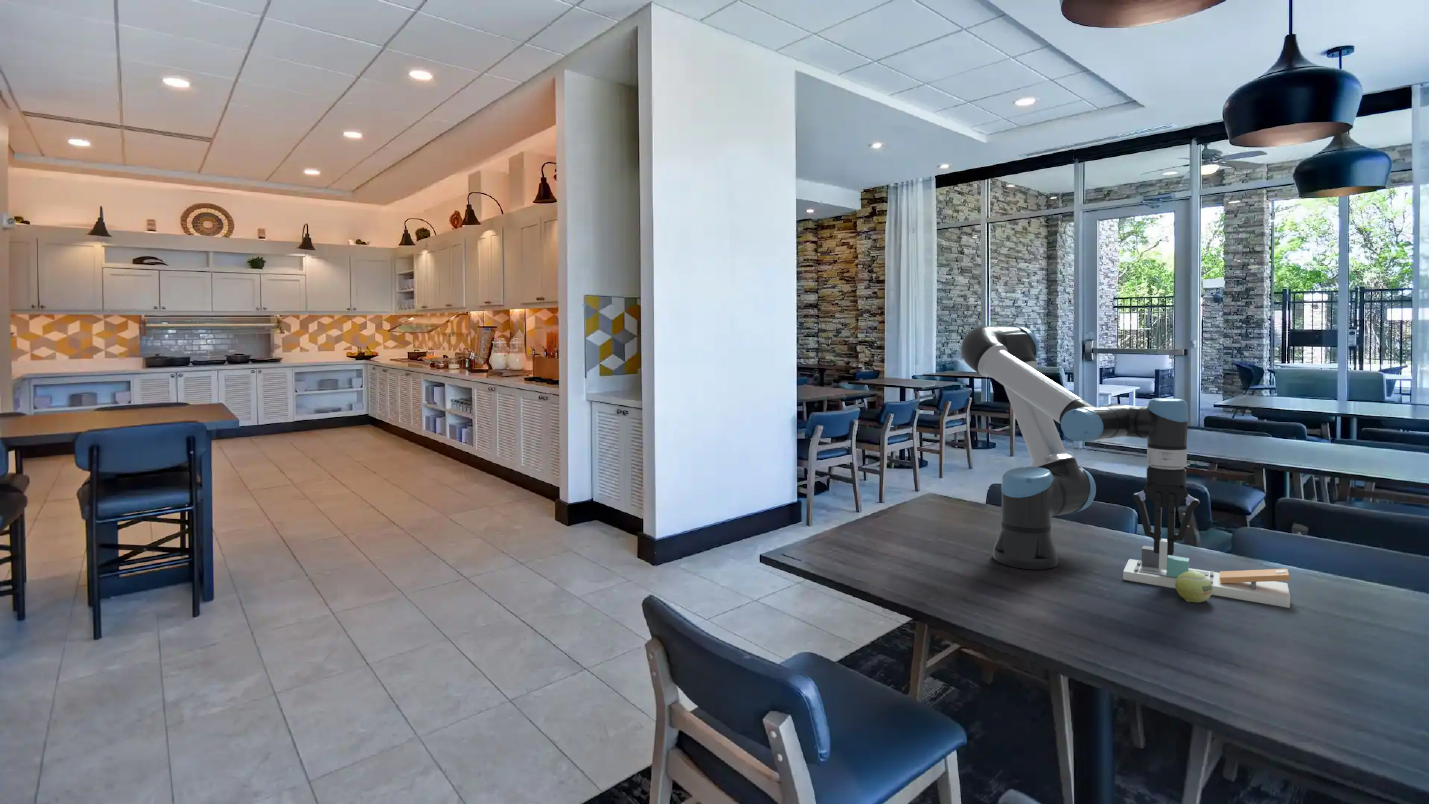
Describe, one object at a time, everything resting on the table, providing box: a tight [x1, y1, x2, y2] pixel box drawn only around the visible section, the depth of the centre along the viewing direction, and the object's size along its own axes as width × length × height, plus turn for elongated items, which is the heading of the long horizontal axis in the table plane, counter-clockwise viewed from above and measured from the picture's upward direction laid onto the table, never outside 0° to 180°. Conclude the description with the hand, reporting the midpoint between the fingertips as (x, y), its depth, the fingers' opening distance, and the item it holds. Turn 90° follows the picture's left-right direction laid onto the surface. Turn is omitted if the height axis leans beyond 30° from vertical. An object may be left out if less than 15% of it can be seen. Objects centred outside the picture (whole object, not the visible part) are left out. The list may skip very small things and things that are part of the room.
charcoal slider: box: [1141, 545, 1159, 568], centre depth 163 cm, size 4×3×4 cm
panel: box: [1122, 558, 1291, 609], centre depth 155 cm, size 30×11×3 cm, turn 53°
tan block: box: [1219, 568, 1291, 583], centre depth 149 cm, size 12×5×1 cm, turn 52°
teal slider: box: [1166, 555, 1190, 577], centre depth 155 cm, size 4×3×4 cm
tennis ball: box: [1175, 571, 1212, 603], centre depth 147 cm, size 6×7×7 cm
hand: (1163, 567), depth 157 cm, fingers closed
